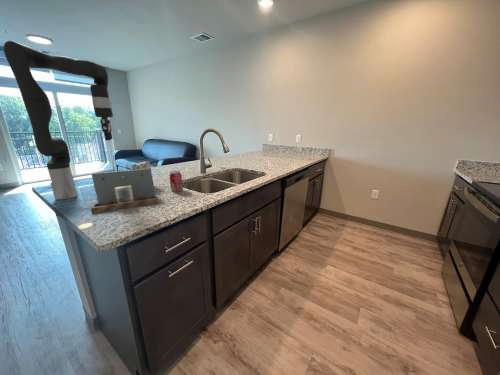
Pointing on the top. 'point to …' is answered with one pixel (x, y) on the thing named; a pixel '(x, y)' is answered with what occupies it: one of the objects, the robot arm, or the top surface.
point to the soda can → (176, 181)
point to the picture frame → (124, 194)
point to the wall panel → (122, 183)
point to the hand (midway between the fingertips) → (109, 139)
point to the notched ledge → (123, 204)
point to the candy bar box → (142, 167)
